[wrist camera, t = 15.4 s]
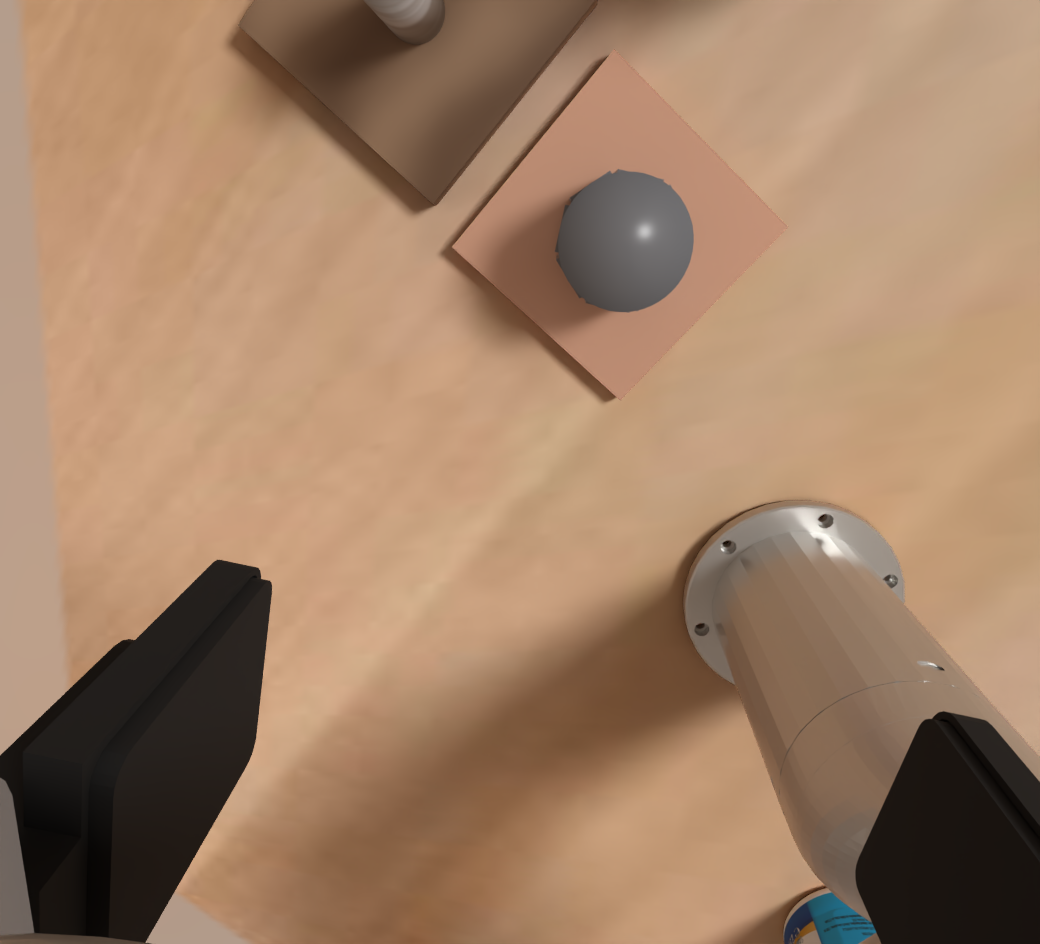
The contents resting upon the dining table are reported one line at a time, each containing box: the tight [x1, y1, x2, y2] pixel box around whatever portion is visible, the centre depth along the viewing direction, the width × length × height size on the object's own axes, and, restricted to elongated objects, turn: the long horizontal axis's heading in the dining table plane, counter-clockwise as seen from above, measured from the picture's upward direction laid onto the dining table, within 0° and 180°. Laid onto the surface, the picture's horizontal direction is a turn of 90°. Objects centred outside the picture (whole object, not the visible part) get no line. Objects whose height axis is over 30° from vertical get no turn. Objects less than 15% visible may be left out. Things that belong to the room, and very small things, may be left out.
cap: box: [555, 169, 694, 313], centre depth 36 cm, size 6×6×5 cm
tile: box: [452, 49, 788, 400], centre depth 39 cm, size 12×12×1 cm
